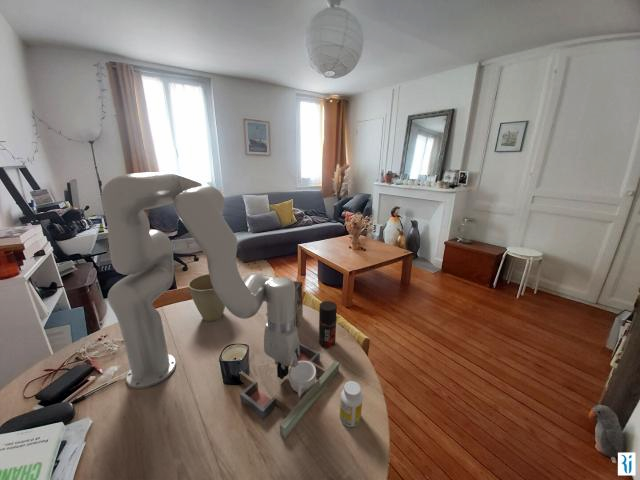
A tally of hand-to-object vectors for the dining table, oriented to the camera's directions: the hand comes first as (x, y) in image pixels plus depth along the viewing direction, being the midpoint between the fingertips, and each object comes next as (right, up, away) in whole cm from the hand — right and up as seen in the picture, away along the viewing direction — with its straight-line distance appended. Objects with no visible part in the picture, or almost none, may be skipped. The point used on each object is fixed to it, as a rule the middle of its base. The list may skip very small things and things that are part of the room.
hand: (283, 375), depth 75 cm
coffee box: (0, +7, +27) cm, 28 cm away
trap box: (-1, -1, +1) cm, 2 cm away
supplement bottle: (+19, -5, -10) cm, 22 cm away
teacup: (+6, -3, -3) cm, 7 cm away
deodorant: (+13, +3, +16) cm, 21 cm away
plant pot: (-33, +8, +30) cm, 46 cm away
